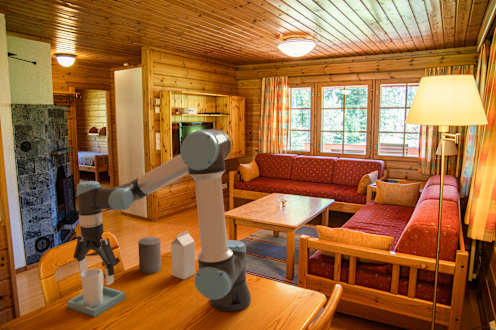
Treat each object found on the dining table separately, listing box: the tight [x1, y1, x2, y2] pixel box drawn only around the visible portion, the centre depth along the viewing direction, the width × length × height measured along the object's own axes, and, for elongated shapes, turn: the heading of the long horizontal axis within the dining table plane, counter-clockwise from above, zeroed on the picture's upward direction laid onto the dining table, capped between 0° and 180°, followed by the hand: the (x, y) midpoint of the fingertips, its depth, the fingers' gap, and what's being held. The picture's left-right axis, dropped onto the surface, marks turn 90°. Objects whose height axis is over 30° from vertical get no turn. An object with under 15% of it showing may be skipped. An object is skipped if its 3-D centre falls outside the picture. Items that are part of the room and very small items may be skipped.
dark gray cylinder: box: [137, 236, 162, 275], centre depth 157 cm, size 10×10×15 cm
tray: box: [66, 285, 126, 318], centre depth 129 cm, size 14×14×2 cm
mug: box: [80, 268, 105, 308], centre depth 129 cm, size 10×7×12 cm, turn 169°
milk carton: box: [170, 230, 196, 280], centre depth 151 cm, size 7×7×19 cm
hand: (96, 280), depth 128 cm, fingers open, 13 cm apart
